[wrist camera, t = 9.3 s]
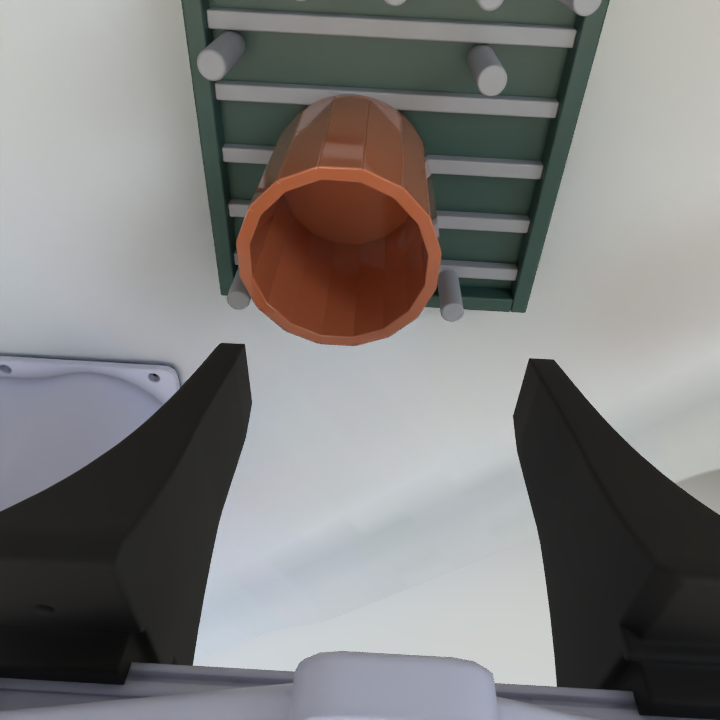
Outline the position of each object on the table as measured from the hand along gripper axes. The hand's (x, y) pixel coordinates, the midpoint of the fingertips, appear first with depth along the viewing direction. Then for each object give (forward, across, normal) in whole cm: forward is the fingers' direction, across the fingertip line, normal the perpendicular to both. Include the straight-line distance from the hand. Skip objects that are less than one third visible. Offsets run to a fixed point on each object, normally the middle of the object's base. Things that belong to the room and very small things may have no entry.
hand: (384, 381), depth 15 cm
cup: (+8, +1, -2) cm, 8 cm away
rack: (+9, 0, -4) cm, 10 cm away
